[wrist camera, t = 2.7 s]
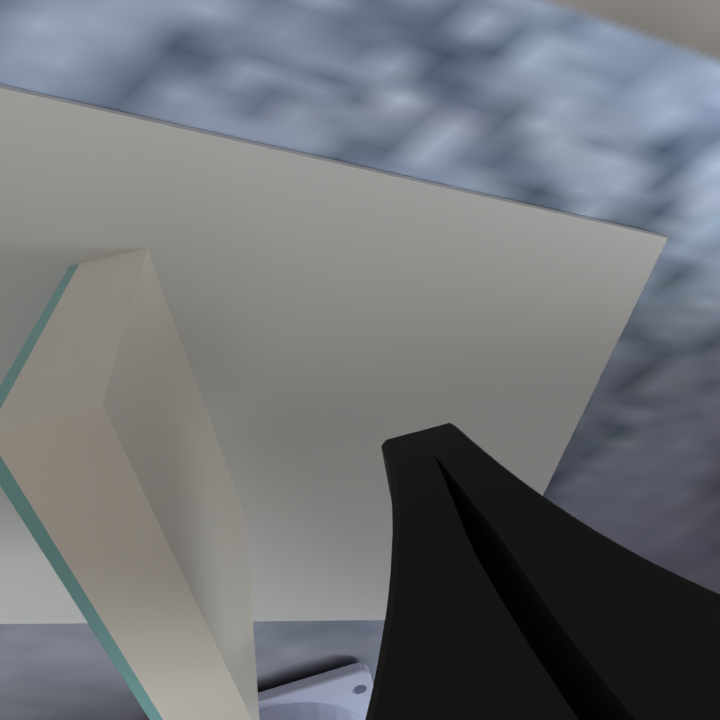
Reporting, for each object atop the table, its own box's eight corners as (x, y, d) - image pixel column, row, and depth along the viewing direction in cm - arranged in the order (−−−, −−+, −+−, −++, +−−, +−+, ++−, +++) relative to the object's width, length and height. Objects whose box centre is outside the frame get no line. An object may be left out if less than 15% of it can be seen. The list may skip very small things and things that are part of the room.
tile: (246, 519, 17) (261, 738, 12) (188, 534, 17) (178, 764, 11) (146, 248, 13) (102, 405, 8) (69, 265, 12) (-31, 438, 7)
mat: (658, 233, 16) (667, 238, 15) (478, 609, 22) (483, 619, 21) (-354, 4, 10) (-376, 3, 9) (-211, 613, 16) (-220, 626, 15)
